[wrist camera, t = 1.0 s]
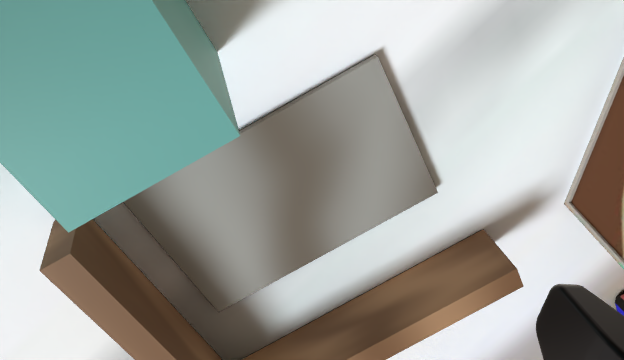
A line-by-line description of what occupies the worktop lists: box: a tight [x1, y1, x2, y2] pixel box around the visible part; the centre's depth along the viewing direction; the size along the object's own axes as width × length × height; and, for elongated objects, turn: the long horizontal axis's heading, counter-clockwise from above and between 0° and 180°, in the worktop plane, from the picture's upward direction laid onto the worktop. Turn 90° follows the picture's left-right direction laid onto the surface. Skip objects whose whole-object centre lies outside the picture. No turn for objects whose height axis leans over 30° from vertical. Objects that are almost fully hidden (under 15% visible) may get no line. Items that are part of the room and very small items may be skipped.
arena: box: [40, 54, 523, 360], centre depth 23 cm, size 15×12×3 cm
